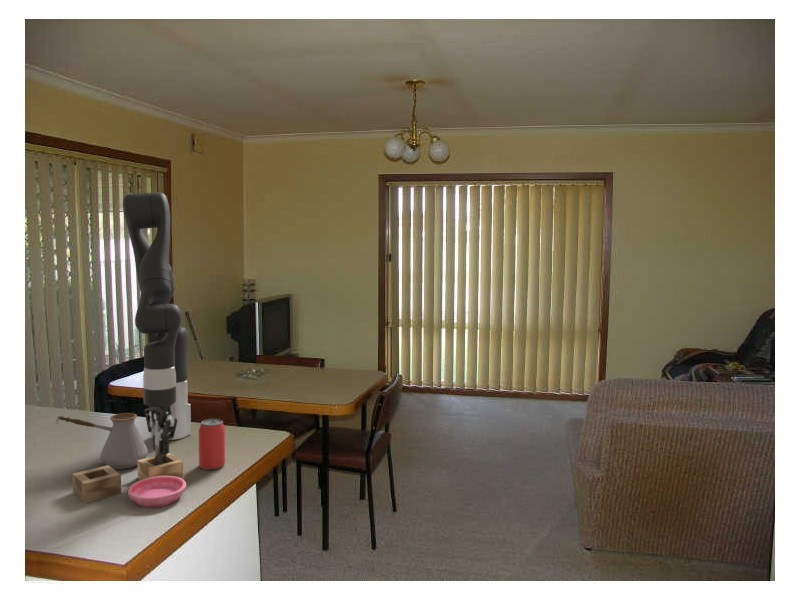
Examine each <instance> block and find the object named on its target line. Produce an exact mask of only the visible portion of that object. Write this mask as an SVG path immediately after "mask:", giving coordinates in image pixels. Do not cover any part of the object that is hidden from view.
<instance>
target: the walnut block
mask: <svg viewBox="0 0 800 600" xmlns="http://www.w3.org/2000/svg"><path fill="white" fill-rule="evenodd" d="M71 474H72V475H71V478H72V479H71V480H72V493H73V494H74V495H75V496H77V498H78V499H80V500H81V501H82V503H84V504H87V503H90V502H94V501H98V500H101V498H102V499H105V498H110V497H113V496H117V495H119V494H122V474H120V472H118V471H116V469H114V468H111V467H110V466H108V465H103V466H99V467H94V468H91V469H86V470H82V471H78V472H77V471H76V472H74V473H71ZM112 495H113V496H112Z"/></svg>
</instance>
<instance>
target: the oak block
mask: <svg viewBox="0 0 800 600" xmlns="http://www.w3.org/2000/svg"><path fill="white" fill-rule="evenodd" d="M137 462H138V465H137V479H139V481H140V480H143V479H146V478H150V477H156V476H175V477H179V478H181V479H183V480H184V461H183V460H182V459H180V458H178V457H176V456H175V455H173V454H171V453H170V452H169V453H168V454H167V463H165V464H161V465H157V466H156V465H155V455H154V456H153V455H152V456H150V457H145V458H144V459H141V460H137Z"/></svg>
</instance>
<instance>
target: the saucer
mask: <svg viewBox="0 0 800 600" xmlns="http://www.w3.org/2000/svg"><path fill="white" fill-rule="evenodd" d="M186 489H187V482H186V481H185V480H184V478H183V479H181V478H179V477H175V476H156V477H150V478H146V479H143V480H140V479H139V480H138V481H135V482H134V483H132V484H131V485H130V486H129V487H128V490H127V493H128V497H129V499H131V500H132V501H133V502H135V503H136V505H138V506H141V507H145V508H146V507H147V508H158V507H163V506H167V505H170V504H172V503H174V502H176V501H177V500H179V498H180V496H182V495H183V493H184V492H185V491H186Z"/></svg>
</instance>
